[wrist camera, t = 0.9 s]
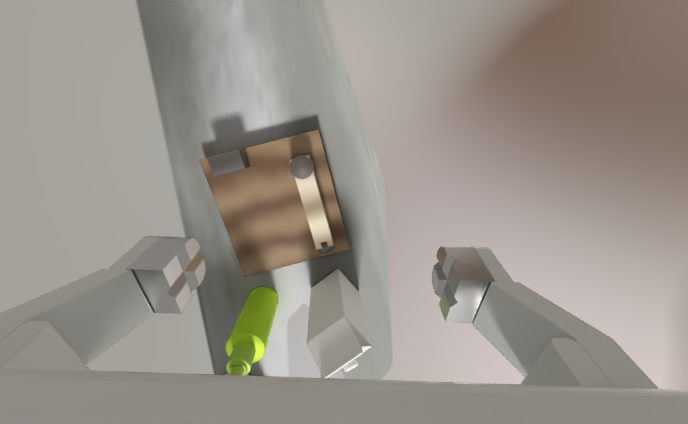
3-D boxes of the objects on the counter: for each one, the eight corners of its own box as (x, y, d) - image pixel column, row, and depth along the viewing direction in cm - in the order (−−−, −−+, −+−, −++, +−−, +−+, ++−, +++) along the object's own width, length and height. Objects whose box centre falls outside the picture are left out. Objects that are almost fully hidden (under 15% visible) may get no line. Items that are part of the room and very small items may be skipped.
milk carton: (310, 288, 53) (304, 365, 35) (338, 267, 53) (346, 335, 34) (332, 311, 55) (337, 395, 37) (359, 291, 54) (378, 368, 36)
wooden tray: (348, 244, 51) (351, 256, 46) (249, 270, 51) (240, 285, 46) (318, 129, 45) (318, 128, 40) (205, 158, 45) (190, 161, 40)
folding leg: (289, 157, 44) (287, 159, 40) (310, 152, 44) (309, 153, 40) (316, 248, 48) (316, 255, 45) (335, 243, 48) (336, 250, 45)
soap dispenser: (238, 293, 52) (190, 382, 33) (271, 283, 52) (242, 366, 33) (250, 317, 54) (210, 415, 35) (282, 307, 54) (260, 399, 35)
